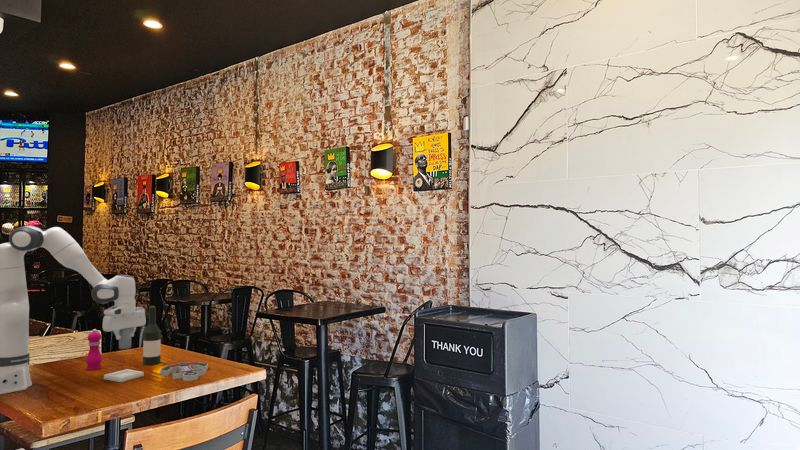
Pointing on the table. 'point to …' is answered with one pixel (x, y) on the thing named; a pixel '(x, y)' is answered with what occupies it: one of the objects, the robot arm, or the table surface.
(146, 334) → the wine bottle
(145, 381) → the table surface
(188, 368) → the decorative sign
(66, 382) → the table surface
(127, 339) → the grey cylinder
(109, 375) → the serving tray
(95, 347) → the pepper mill
